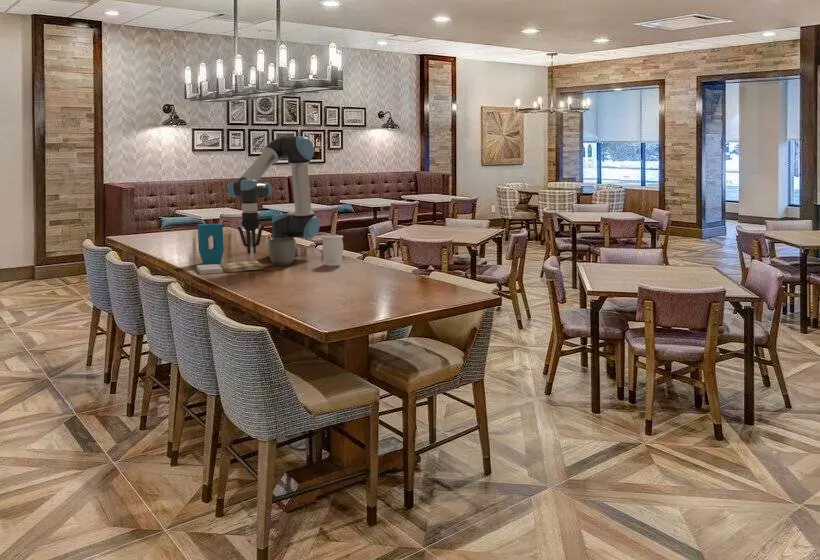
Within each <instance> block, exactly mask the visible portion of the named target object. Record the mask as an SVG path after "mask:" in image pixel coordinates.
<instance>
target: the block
mask: <svg viewBox="0 0 820 560" xmlns="http://www.w3.org/2000/svg"><path fill="white" fill-rule="evenodd" d="M210 237H212V242H213V244H212V245H213V246H212V248H210V247H209V239H210ZM197 241H198V242H197V243H198V253H199V256H200V258H201V259H200V260H201V262H202V265H211V264H218V265H220V264H222V259H223V255H224V251H225V250H224V249H225V248H224V246H225V245H224V224H223V223H205V224H204V223H202V224H201V223H200V224H197Z"/></svg>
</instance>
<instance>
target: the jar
mask: <svg viewBox="0 0 820 560" xmlns="http://www.w3.org/2000/svg"><path fill="white" fill-rule="evenodd" d="M343 238H344V235H340V234H324V235H322V239H323V240H322V245H321V248H322V250H321V251H322V254H323V258H324V259H323V260H324V261H325V263H324V266H326V267H329V266H330V267H338V266H342V262H341V261H342V259H343V253H344V241H343Z"/></svg>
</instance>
